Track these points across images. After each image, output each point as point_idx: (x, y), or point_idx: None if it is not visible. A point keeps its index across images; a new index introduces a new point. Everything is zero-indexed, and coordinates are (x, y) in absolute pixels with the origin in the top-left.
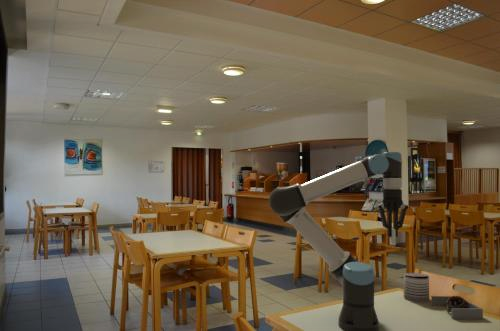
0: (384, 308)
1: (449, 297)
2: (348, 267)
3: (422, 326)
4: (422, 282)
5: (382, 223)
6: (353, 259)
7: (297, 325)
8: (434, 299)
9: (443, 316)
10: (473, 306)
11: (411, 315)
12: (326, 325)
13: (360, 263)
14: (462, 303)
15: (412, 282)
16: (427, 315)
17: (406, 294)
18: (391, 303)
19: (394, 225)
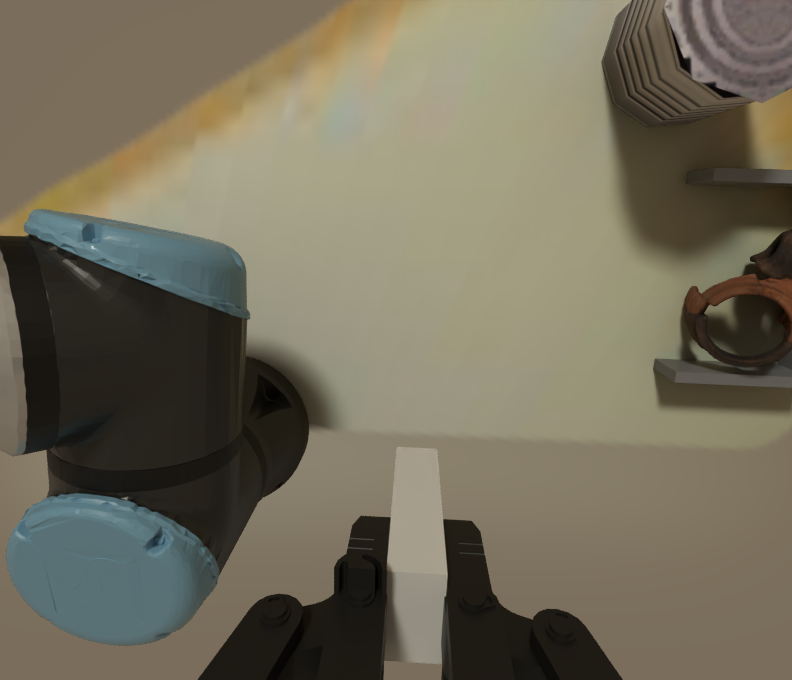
0: (417, 219)
1: None
2: (30, 598)
3: (478, 436)
4: (734, 102)
5: (219, 661)
6: (84, 422)
7: None
8: (714, 181)
9: (635, 336)
10: None
11: (499, 318)
12: None
13: (115, 546)
14: (756, 363)
15: (671, 82)
16: (571, 321)
17: (615, 62)
18: (487, 139)
19: (466, 650)
